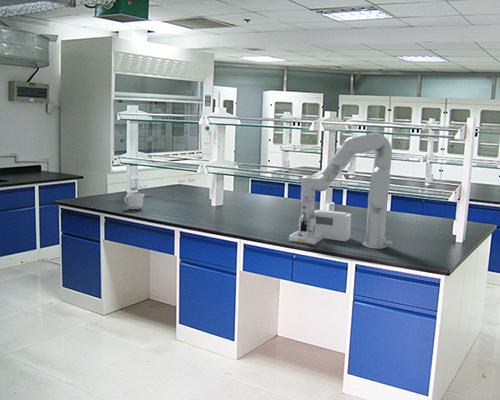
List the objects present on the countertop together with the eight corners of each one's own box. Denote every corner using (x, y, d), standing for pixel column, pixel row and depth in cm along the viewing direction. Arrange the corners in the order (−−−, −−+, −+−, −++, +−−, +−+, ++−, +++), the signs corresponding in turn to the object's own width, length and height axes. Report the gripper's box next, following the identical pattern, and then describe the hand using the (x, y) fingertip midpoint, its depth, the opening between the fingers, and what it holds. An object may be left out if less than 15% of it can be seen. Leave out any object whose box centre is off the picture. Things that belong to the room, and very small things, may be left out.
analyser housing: (350, 238, 293) (351, 212, 291) (345, 241, 285) (347, 215, 283) (316, 233, 302) (317, 208, 299) (311, 236, 294) (312, 211, 292)
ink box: (297, 238, 287) (298, 217, 285) (302, 236, 291) (303, 216, 289) (310, 241, 282) (311, 219, 280) (315, 239, 286) (316, 218, 284)
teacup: (119, 209, 358) (119, 194, 356) (137, 206, 368) (137, 192, 367) (130, 211, 350) (129, 197, 348) (148, 209, 360) (148, 194, 359)
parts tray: (322, 239, 289) (322, 233, 289) (314, 244, 277) (314, 239, 277) (297, 235, 296) (298, 230, 295) (288, 241, 283) (288, 235, 283)
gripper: (308, 201, 273) (307, 233, 276) (319, 197, 288) (318, 227, 291) (295, 200, 276) (294, 231, 279) (306, 195, 292) (305, 225, 295)
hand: (306, 229), depth 285 cm, fingers open, 9 cm apart
